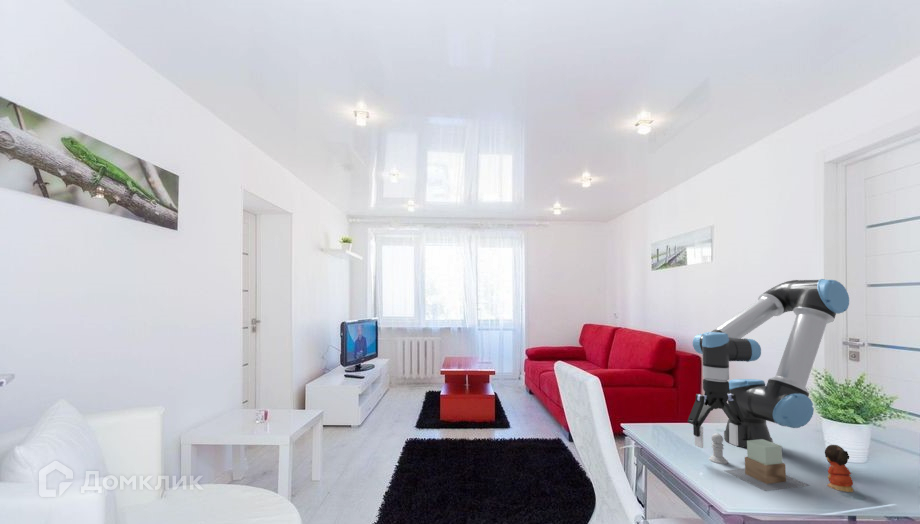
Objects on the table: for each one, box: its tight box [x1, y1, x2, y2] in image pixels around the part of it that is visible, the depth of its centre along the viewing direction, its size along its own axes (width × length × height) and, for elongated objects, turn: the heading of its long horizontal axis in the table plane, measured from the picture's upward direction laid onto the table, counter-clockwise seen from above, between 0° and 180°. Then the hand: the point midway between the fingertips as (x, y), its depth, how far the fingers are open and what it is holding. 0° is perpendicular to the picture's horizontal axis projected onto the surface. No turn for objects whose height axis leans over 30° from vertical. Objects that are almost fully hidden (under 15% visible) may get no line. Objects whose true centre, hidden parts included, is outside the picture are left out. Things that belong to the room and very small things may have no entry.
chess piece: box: [708, 432, 729, 465], centre depth 141 cm, size 5×5×9 cm
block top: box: [746, 439, 783, 465], centre depth 129 cm, size 6×6×5 cm
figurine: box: [824, 444, 855, 493], centre depth 123 cm, size 6×6×12 cm
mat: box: [723, 467, 811, 492], centre depth 128 cm, size 16×14×1 cm
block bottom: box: [744, 456, 787, 484], centre depth 129 cm, size 7×7×5 cm
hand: (716, 445), depth 141 cm, fingers open, 13 cm apart
